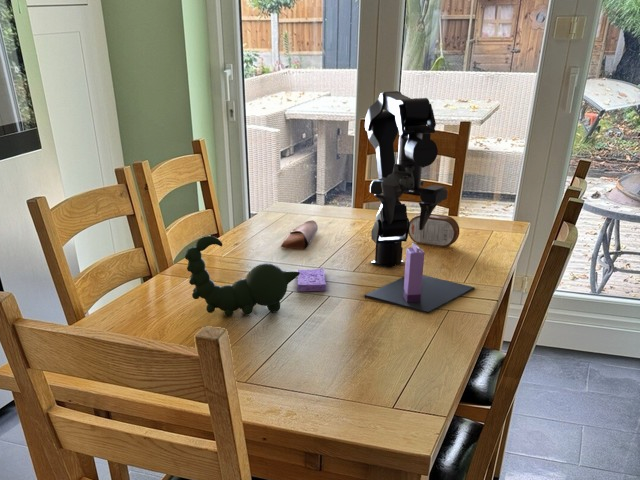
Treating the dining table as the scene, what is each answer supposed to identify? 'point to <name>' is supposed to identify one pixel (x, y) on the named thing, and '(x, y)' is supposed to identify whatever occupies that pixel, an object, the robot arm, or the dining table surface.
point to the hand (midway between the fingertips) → (405, 226)
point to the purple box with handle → (413, 274)
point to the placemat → (422, 294)
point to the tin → (434, 230)
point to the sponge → (311, 280)
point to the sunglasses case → (300, 236)
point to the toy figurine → (237, 284)
